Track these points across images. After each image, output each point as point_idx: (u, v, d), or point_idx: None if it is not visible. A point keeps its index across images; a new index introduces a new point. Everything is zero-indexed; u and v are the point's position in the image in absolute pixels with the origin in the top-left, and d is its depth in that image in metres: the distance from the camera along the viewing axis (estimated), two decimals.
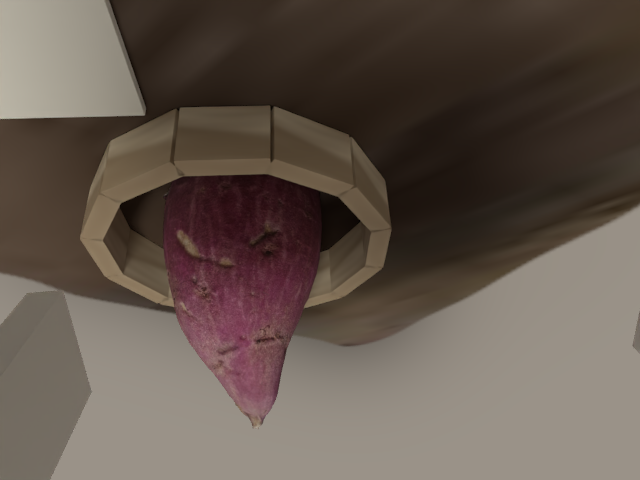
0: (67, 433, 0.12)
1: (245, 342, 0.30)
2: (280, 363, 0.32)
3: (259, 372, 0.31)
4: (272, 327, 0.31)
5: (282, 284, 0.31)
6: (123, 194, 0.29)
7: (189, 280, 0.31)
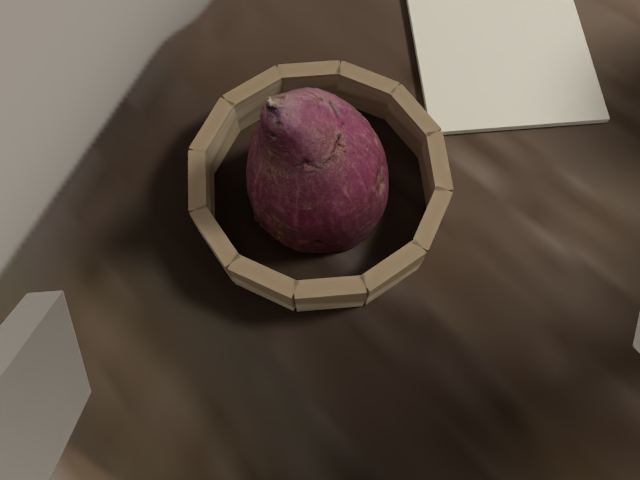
0: (67, 433, 0.12)
1: (340, 125, 0.33)
2: (307, 150, 0.32)
3: (319, 126, 0.31)
4: (341, 154, 0.33)
5: (362, 177, 0.35)
6: (400, 97, 0.41)
7: None
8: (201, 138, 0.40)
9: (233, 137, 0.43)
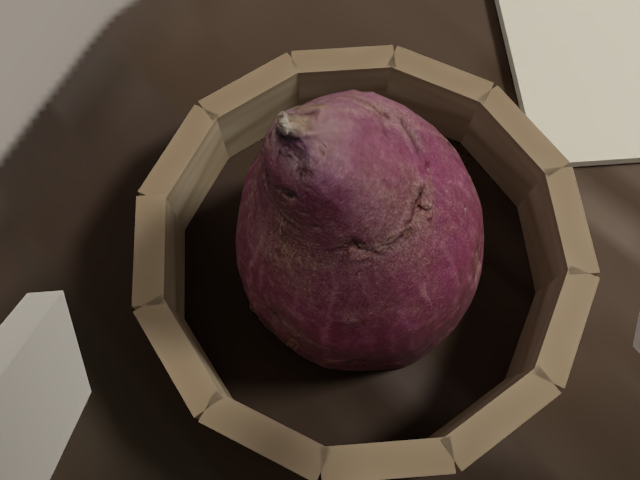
0: (67, 433, 0.12)
1: (423, 169, 0.16)
2: (360, 223, 0.15)
3: (386, 173, 0.15)
4: (423, 226, 0.17)
5: (455, 263, 0.18)
6: (497, 107, 0.24)
7: None
8: (160, 175, 0.23)
9: (216, 168, 0.27)
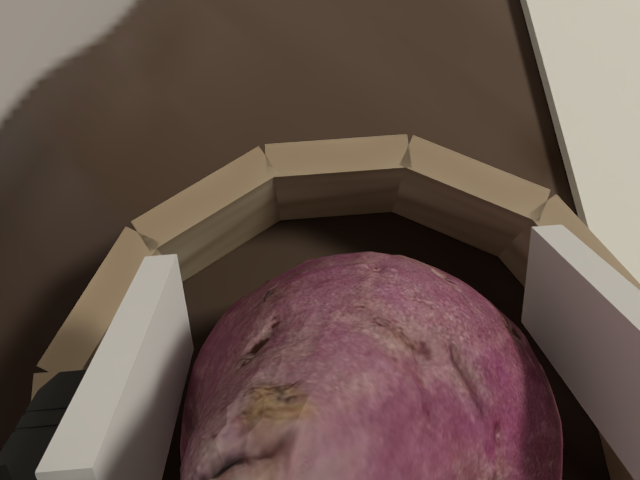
0: (183, 381, 0.13)
1: (492, 442, 0.09)
2: None
3: None
4: None
5: None
6: None
7: None
8: (70, 338, 0.16)
9: None
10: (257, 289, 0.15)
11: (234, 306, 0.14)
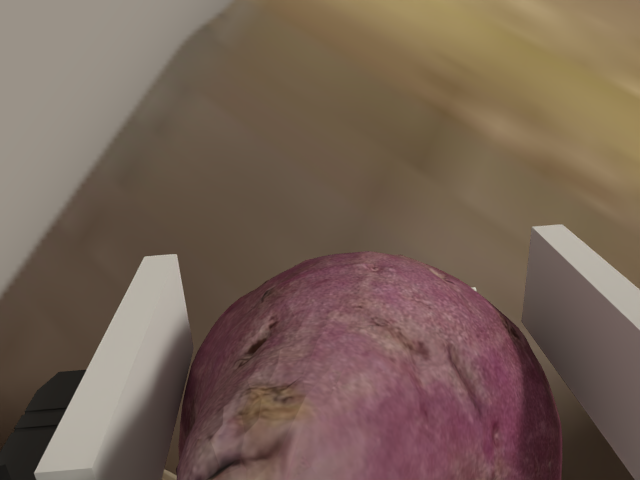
0: (183, 381, 0.13)
1: (490, 442, 0.09)
2: None
3: None
4: None
5: None
6: None
7: (489, 302, 0.13)
8: None
9: None
10: (256, 289, 0.15)
11: (232, 306, 0.14)
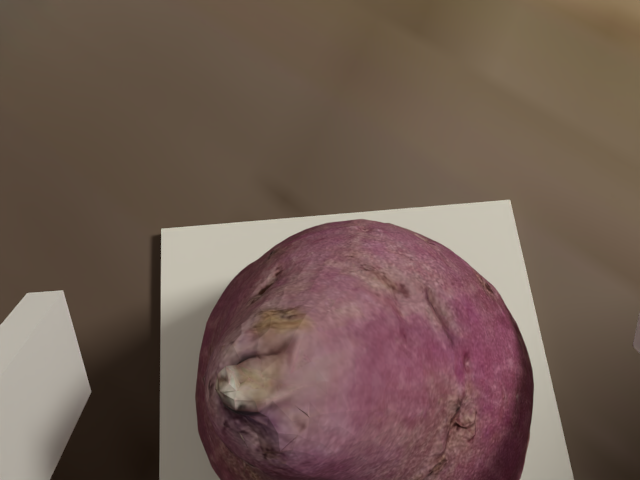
0: (67, 433, 0.12)
1: (461, 368, 0.11)
2: None
3: (408, 407, 0.09)
4: (462, 450, 0.11)
5: (505, 474, 0.13)
6: None
7: None
8: None
9: None
10: None
11: (241, 272, 0.15)
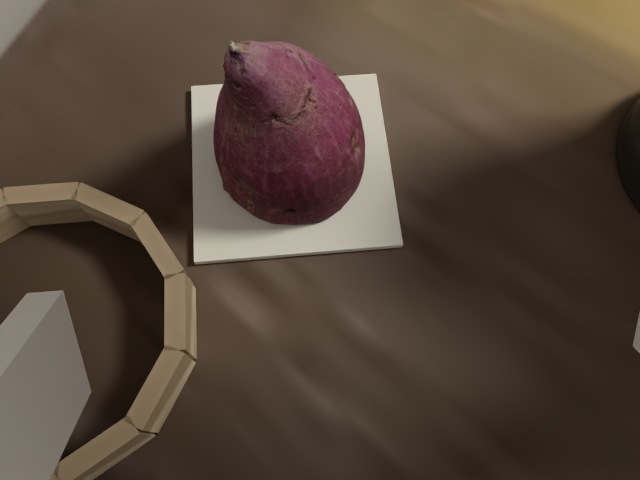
0: (67, 433, 0.12)
1: (311, 79, 0.31)
2: (275, 103, 0.29)
3: (287, 77, 0.29)
4: (312, 111, 0.31)
5: (335, 137, 0.33)
6: (142, 228, 0.35)
7: None
8: None
9: None
10: None
11: None
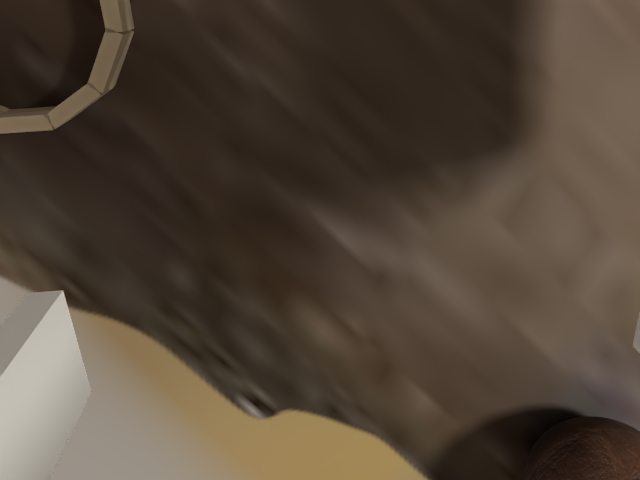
0: (67, 433, 0.12)
1: None
2: None
3: None
4: None
5: None
6: None
7: None
8: None
9: None
10: None
11: None
